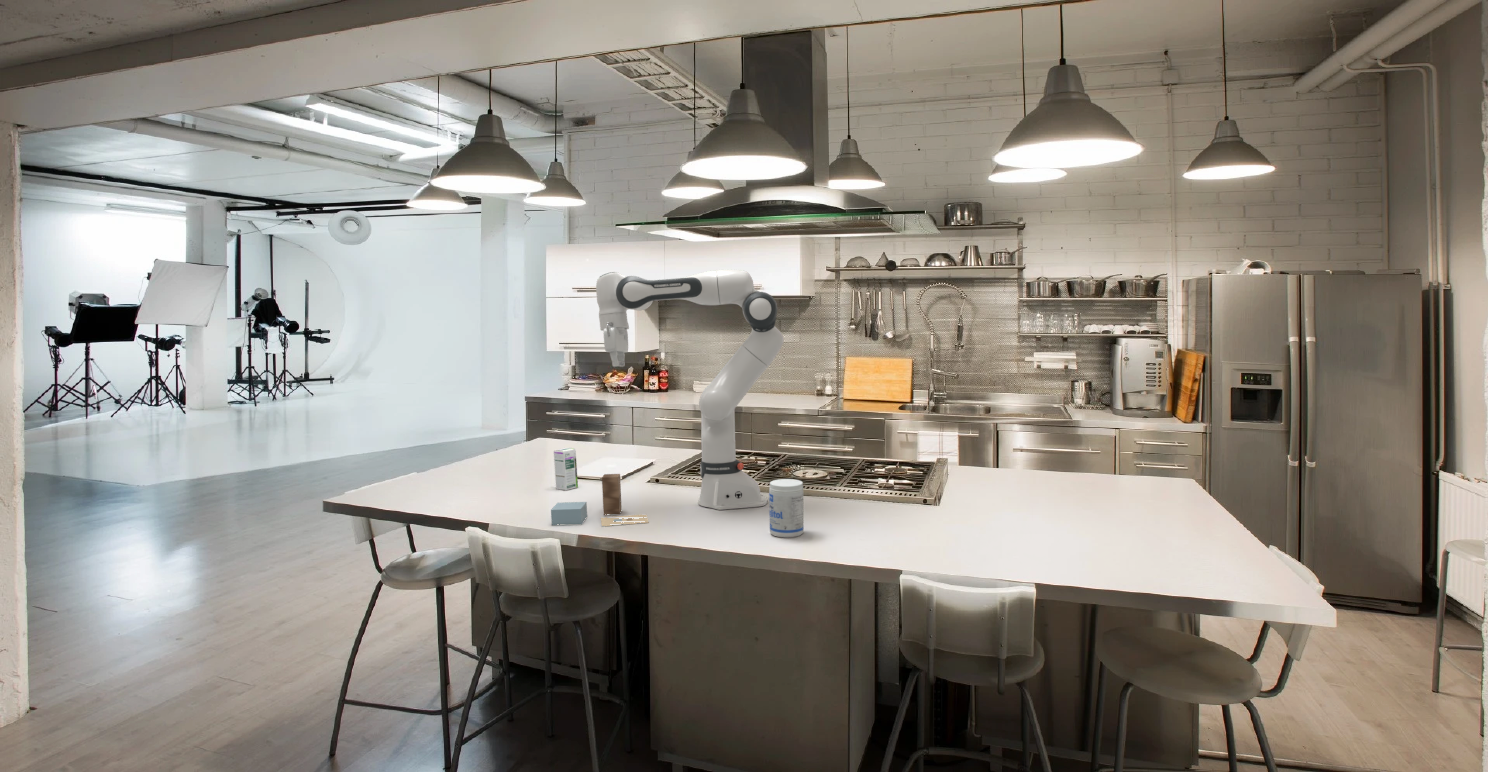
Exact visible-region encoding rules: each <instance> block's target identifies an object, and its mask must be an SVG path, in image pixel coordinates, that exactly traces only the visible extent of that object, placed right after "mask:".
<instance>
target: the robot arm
mask: <svg viewBox="0 0 1488 772" xmlns="http://www.w3.org/2000/svg"><path fill="white" fill-rule="evenodd" d="M595 286H596V287H595V289H596V290H595V292H596V303H597V304H598V308H599V312H598V319H599V328H600V331H603V345H604V350H605V352H606V353H609V357H610V359H611V364H612V367H614V368H615V367H621V368H623V367H625V364H626V363H625V356H626V355H625V354H626V353H628V352H629V336H628V335H629V333H628V330H629V329H630V327H629V322H628V314H627V311H628V310H634V311H638V312H639V311H645V310H647V309H648V308H650V307H651V305H653V303H654V302H655V301H668V300H685V301H688V302H692V303H695V304H697V305H702V306H719V305H721V306H722V305H738V306H739V307H740V309H741V310H742V314H743V318H744V319H745V321H746V322H747V323H748V324H749V325H750V327H751V332H750V334H749V335H748V336H747V338H746V339H745V340H744V342H742V344H741V345H740V346H739V348H738V349H737V350H736V351H735V352H734V354H733V355H732V356H731V357H730V359H729V360H728V361H727V362H726V363H725V365H724V366H723V367H722V369H721V370H719V372H718V374H716V376H715V377H714V378H713V380H711V382H710V383H709V385H707V386H706V387H705V388H704V389H703V391H702V392H701V394H700V397H699V400H698V405H699V406H698V408H699V410H700V412H701V413H700V415H701V416H700V417H701V425H700V430H701V431H700V432H701V433H700V434H701V436H700V438H701V440H700V443H701V461H700V478H701V485H700V486H701V487H700V494H699V498H698V499H699V500H698V502H697V503H698V505H700V506H701V507H706V508H710V509H714V510H719V511H720V510H721V511H722V510H733V509H747V508H758V507H763V506H766V505H767V504H768V499H767V498H768V497H767V496H766V495H764V494H762V493H761V489H760V485H759V483H758V482H757V481H756V480H755V479H754V478H753V477H751V476H750V475H749V474H747V473H746V472H744V471H743V469H744V468H745V465H744V463H743V462H742V461H741V460H739V459H737V458H736V453H737V452H736V426H735V425H736V422H735V421H736V419H735V418H736V416H735V409H736V408H737V407H738V405H739V403H740V402H742V399H744V397H745V396H746V395H747V393H748V392H749V391H750V390H751V388H752V387H753V385H754V384H755V383H756V381H757V380H758V379H759V378H760V377H762V375H763V373H764V372H765V371H766V370H767V368H769V367H770V365H771V364H772V363H773V361H775V359H776V357H777V355H778V354H779V352H780V351H781V349H782V347H783V345H784V342H785V339H784V336H783V333H782V332H781V330H779V328H777V326H776V321H777V317H778V305H777V301H776V300H775V298H774V297H773V296H772V295H771V294H769V293H767V292H764V291H759V290H757V289H756V288H755V285H754V280H753V277H752V276H751V274H750V273H749V272H748V271H746V270H741V269H716V270H709V271H703V272H699V273H695V274H692V275H688V276H684V277H678V278H677V277H676V278H664V279H646V278H642V277H640V276H636V275H629V276H628V275H624V274H621V273H620V272H618V271H611V272H608V273H604V274H601V275H600V276H599V277H598V278H597V281H596V284H595Z"/></svg>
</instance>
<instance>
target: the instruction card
mask: <svg viewBox="0 0 1488 772" xmlns="http://www.w3.org/2000/svg"><path fill="white" fill-rule="evenodd" d="M604 517H605V516H604ZM607 517H608V516H606V517H605V518H603V517H600V523H601V525H602V526H605V527H613V526H612V525H610V524H630V525H638V524H637V523H640V522H635V523H634V522H624V523H623V522H622V523H621V522H616V521H645V522H641V523H643V524H650V521H649V519H648V515H647V514H646V515H642V514H632V515H631V514H630V515H615V517H643V518H639V519H634V518H633V519H632V518H628V519H624V518H622V519H619V518H607ZM644 517H647V518H644ZM613 521H614V522H613ZM648 521H649V522H648ZM601 525H600V526H601ZM602 526H601V527H602Z"/></svg>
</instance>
